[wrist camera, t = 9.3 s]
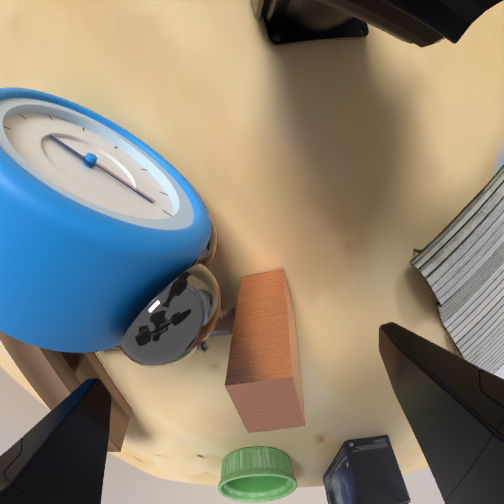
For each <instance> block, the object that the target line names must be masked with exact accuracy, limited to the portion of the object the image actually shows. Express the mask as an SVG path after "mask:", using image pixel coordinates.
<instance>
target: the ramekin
mask: <svg viewBox="0 0 504 504" xmlns="http://www.w3.org/2000/svg"><path fill="white" fill-rule="evenodd" d="M296 488H297V482H296V479H295V478H294V476H293V472H292V469H291V465H290V461H289V458H288V456H287V455H286V454H285V453H284V452H282V451H280V450H278V449H275V448H270V447H248V448H242V449H239V450H236V451H234V452H232V453H230V454H228V455H227V456H226V457H225V458H224V460H223V464H222V473H221V481H220V483H219V486H218V490H219V492H220V493H221V494H222V495H223V496H224V497H227V498H229V499H232V500H235V501H241V502H265V501H272V500H276V499H280V498H282V497H285V496H287V495H289V494H290V493H292V492H293V491H294V490H295V489H296Z"/></svg>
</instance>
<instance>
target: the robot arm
mask: <svg viewBox="0 0 504 504" xmlns="http://www.w3.org/2000/svg"><path fill="white" fill-rule="evenodd" d="M250 1H251V4H252V8H253V11H254V15H255V17H256V18H258V19H262V20H263V23H264V27H265V30H266V34H267V38H268V41H269V43H270V44H271V45H273V46H282V45H289V44H296V43H304V42H313V41H323V40H335V39H351V38H363V37H365V36H367V35H368V33H369V30H368V26H367V23H368V24H370V25H372V26H374V27H376V28H378V29H380V30H382V31H384V32H386V33H388V34H390V35H392V36H394V37H396V38H398V39H400V40H401V41H404V42H407V43H411V44H412V43H414V44H416V45H418V46H419V47H425V46H428V45H432V44H435V43H438V42H440V41H441V40H443V39H445V38H446V39H448V40H449V41H451V42H452V43H457V41H458V40H459V39H460V38H461V36H462V35H463V34H464V33H465V31H466V30H467V29H468V27H469V26H470V25H471V24H472V23H473V22H474V21H475V20H476V19H477V18H478V17H479V16H481V15H482V14H483V13H484V12H485V11H486V10H488V9H489V8H491V7H493V6H494V5H496V4H497V3H499V2H501V1H503V0H250ZM358 28H361V29H362V30H363V33H360V32H359V31H358ZM275 35H277V36H279V37H280V41H275V40H274V39H273V36H275ZM379 351H380V354H381V357H382V360H383V362H384V365H385V368H386V370H387V373H388V376H389V379H390V382H391V384H392V387H393V390H394V393H395V395H396V397H397V399H398V401H399V403H400V405H401V407H402V409H403V411H404V413H405V415H406V418H407V420H408V422H409V424H410V426H411V428H412V430H413V432H414V434H415V436H416V439H417V441H418V443H419V445H420V447H421V449H422V452H423V454H424V456H425V458H426V460H427V463H428V465H429V467H430V469H431V472H432V474H433V476H434V478H435V481H436V483H437V485H438V488H439V490H440V492H441V495H442V497H443V500H444V501H445V504H504V379H502V378H500V377H498V376H496V375H494V374H492V373H490V372H488V371H486V370H484V369H482V368H479V367H478V366H476V365H474V364H472V363H470V362H468V361H467V360H465V359H463V358H461V357H459V356H457V355H455V354H453V353H451V352H449V351H447V350H446V349H444V348H442V347H440V346H438V345H436V344H434V343H432V342H430V341H428V340H426V339H424V338H423V337H421V336H419V335H417V334H415V333H413V332H411V331H409V330H407V329H405V328H403V327H402V326H400V325H398V324H396V323H394V322H389V323H386V324H383V325H381V326H380V327H379ZM111 404H112V398H111V395H110V393H109V391H108V390H107V389H106V387H105V386H104V384H103V383H102V381H101V380H100V379H99V378H88V379H87V380H85V381H84V382H83V383H82V384H81V385H80V386H79V387H77V388H76V389H75V390H74V391H73V392H72V393H71V394H70V395H69V396H67V397H66V398H65V399H64V400H63V401H62V402H61V403H60V404H58V405H57V406H56V407H55V408H54V409H53V410H52V411H51V412H50V413H49V414H47V415H46V416H45V417H44V418H43V419H42V420H41V421H40V422H38V424H36V425H35V426H34V427H33V428H32V429H31V430H30V431H29V432H28V433H26V434H25V435H24V436H23V438H21V439H20V440H19V441H18V442H16V443H15V444H14V445H13V446H12V447H11V448H10V449H8V450H7V451H6V452H5V453H3V454H2V455H1V456H0V504H101V495H102V486H103V478H104V470H105V463H106V455H107V449H108V442H109V433H110V417H111Z"/></svg>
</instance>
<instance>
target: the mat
mask: <svg viewBox="0 0 504 504" xmlns="http://www.w3.org/2000/svg"><path fill="white" fill-rule="evenodd" d="M414 251H415V252H417V253H419V254H418V255H417V256H415V257H414V258H413V259H412V260H411V261H410V263H411V265H413V266H414V267H415V268H416V269H417V270H418V271H419V272H420V273H421V275H422V276H423V278H424V279H425V281H426V282H427V284H428V285H429V287H430V288H431V290H432V292H433V293H434V295H435V296H436V298H437V300H438V302H437V303H436V305H437V310H438V314H439V317H440V319H441V321H442V324H443V326H444V329H445V330H447V331H448V332H449V334H450V335H451V337H452V340H453V342H454V344H455V345H456V347H457V349H458V351H459V353H460V354H461V356H462V357H463V358H464V359H465V360H467V361H468V362H470V363H472V364H474V365H476V366H478V367H479V368H482V369H484V370H486V371H488V372H490V373H492V374H494V373H495V372H496V371H497V370H498V369H499V368H500V367H501V366H502V365H503V364H504V165H503V166H502V167H501V169H500V170H499V171H498V172H497V173H496V174H495V176H494V177H493V178H492V179H491V180H490V181H489V183H488V184H487V185H486V186H485V187H484V188H483V189H482V190H481V191H480V192H479V193H478V194H477V196H476V197H475V198H474V199H473V200H472V201H471V202H470V203H469V204H468V205H467V206H466V207H465V208H464V209H463V210H462V211H461V212H460V213H459V214H458V215H457V216H456V218H455V219H454V220H453V221H452V222H451V223H450V224H449V225H448V226H447V227H446V228H445V229H444V230H443V231H442V232H441V233H440V234H439V235H438V236H437V237H436V238H435V239H434V240H433V241H431V242H430V243H429V244H428V245H427V246H426V247H425V248H424V249H423V250H416V249H414Z"/></svg>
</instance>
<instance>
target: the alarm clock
mask: <svg viewBox="0 0 504 504" xmlns="http://www.w3.org/2000/svg"><path fill="white" fill-rule="evenodd" d="M216 246H217V231H216V227H215V224H214V221H213V219H212V217H211V216H210V215H209V213H208V212H207V209H206V207H205V205H204V203H203V201H202V200H201V198H200V197H199V195H198V194H197V192H196V191H195V190H194V188H193V187H192V186H191V185H190V183H189V182H188V181H187V180H186V179H185V178H184V177H183V176H182V175H181V174H180V173H179V172H178V171H177V170H176V169H175V168H174V167H173V166H172V165H171V164H170V163H169V162H168V161H166V160H165V159H164V158H163V157H162V156H161V155H159V154H158V153H157V152H156V151H154V150H153V149H152V148H150V147H149V146H148V145H147V144H145V143H144V142H142V141H141V140H140V139H138V138H137V137H135V136H134V135H132V134H131V133H129V132H128V131H126V130H125V129H123V128H122V127H120V126H118V125H117V124H115V123H113V122H112V121H110V120H108V119H106V118H104V117H103V116H101V115H99V114H97V113H95V112H93V111H91V110H89V109H87V108H85V107H83V106H80V105H78V104H76V103H73V102H71V101H68V100H66V99H63V98H60V97H57V96H54V95H51V94H48V93H44V92H40V91H36V90H31V89H24V88H0V331H1V332H3V333H5V334H7V335H9V336H11V337H12V338H15V339H17V340H19V341H22V342H24V343H27V344H30V345H33V346H36V347H40V348H43V349H48V350H53V351H60V352H71V353H83V352H95V351H102V350H106V349H110V348H113V347H116V346H118V345H120V347H119V348H120V350H121V351H122V352H123V353H124V354H125V355H126V356H127V357H128V358H129V359H130V360H132V361H133V362H135V363H137V364H140V365H142V366H147V367H165V366H170V365H174V364H176V363H178V362H181V361H183V360H184V359H186V358H187V357H188V356H189V355H191V354H192V353H193V352H194V351H195V350H196V349H198V350H201V351H202V352H203V353H204V352H205V351H206V350H207V349H208V348H209V347H208V346H207V345H206V344H205V342H204V341H205V339H206V338H207V337H208V336H209V335H210V333H211V332H212V330H213V329H214V327H215V325H216V323H217V320H218V317H219V313H220V308H221V294H220V289H219V285H218V283H217V281H216V279H215V277H214V275H213V274H212V273H211V272H210V271H209V269H208V267H209V265H210V263H211V262H212V260H213V257H214V254H215V251H216Z"/></svg>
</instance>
